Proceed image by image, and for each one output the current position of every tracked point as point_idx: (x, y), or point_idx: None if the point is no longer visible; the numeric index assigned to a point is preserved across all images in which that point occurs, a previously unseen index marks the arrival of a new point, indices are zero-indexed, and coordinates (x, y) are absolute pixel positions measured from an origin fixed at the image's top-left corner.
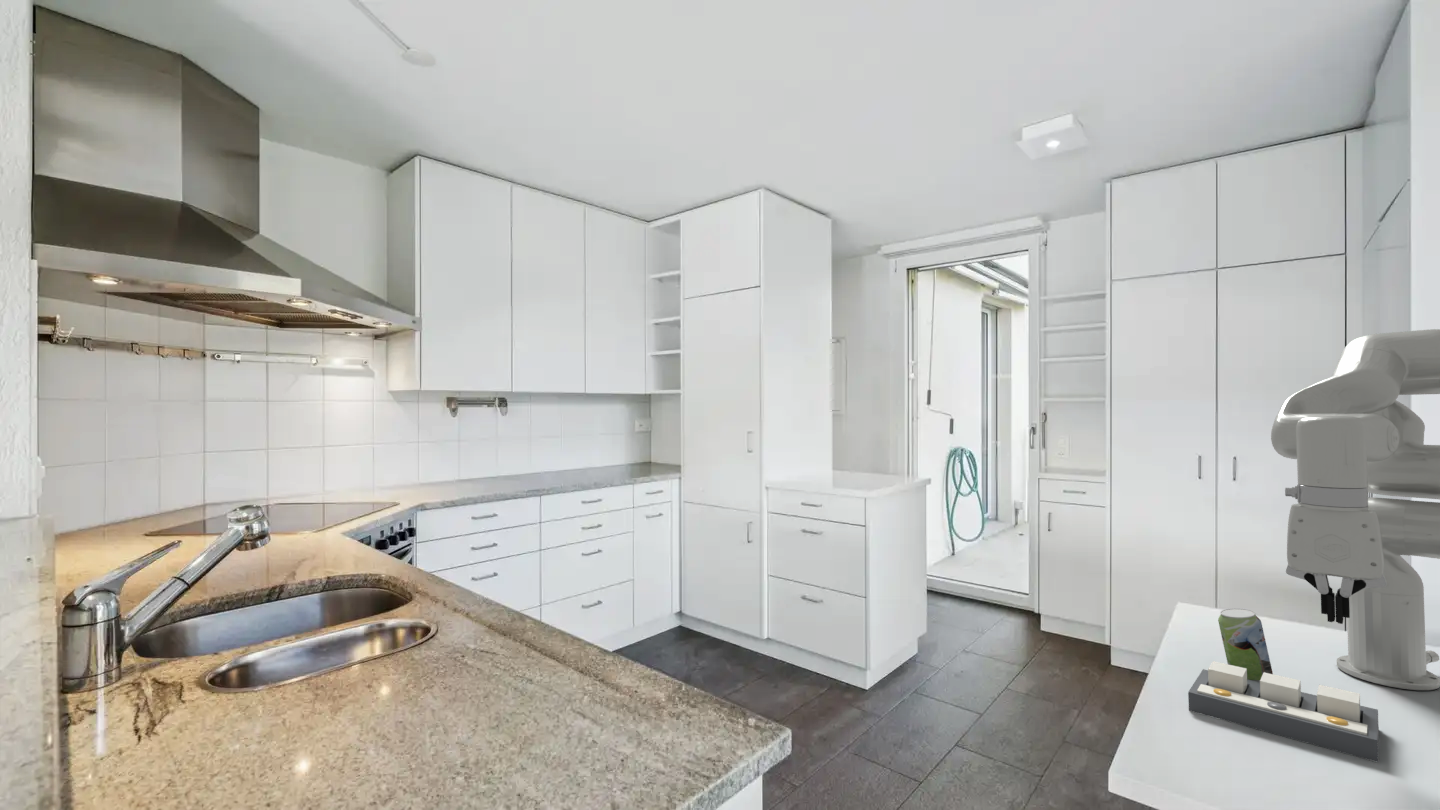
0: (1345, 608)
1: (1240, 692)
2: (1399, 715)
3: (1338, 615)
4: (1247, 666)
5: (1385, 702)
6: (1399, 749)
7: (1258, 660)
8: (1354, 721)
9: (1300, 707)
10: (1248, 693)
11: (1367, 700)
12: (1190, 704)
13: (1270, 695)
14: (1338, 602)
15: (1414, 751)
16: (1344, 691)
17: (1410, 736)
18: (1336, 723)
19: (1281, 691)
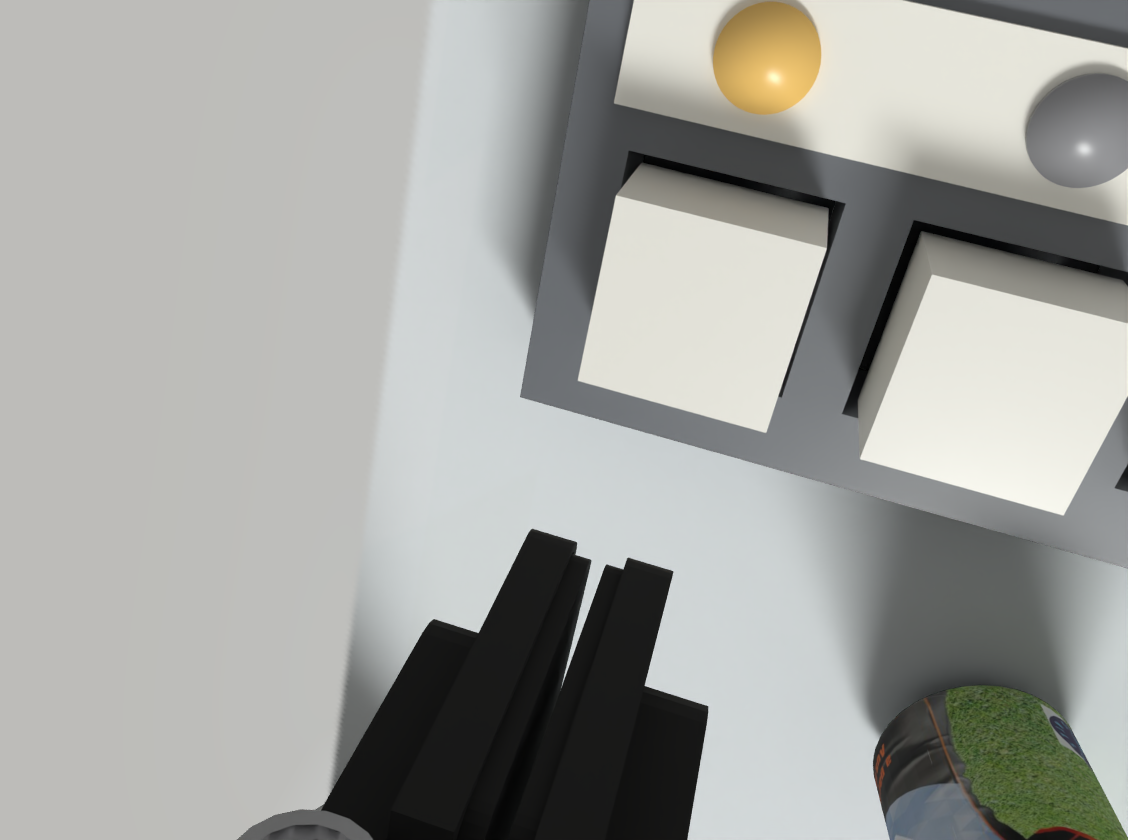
0: (425, 703)
1: None
2: (446, 550)
3: (541, 598)
4: (1027, 742)
5: None
6: (510, 152)
7: (972, 774)
8: (664, 154)
9: (858, 385)
10: None
11: None
12: None
13: (1076, 283)
14: (473, 744)
15: (457, 165)
16: (650, 377)
17: (444, 340)
18: (782, 3)
19: (1022, 281)
